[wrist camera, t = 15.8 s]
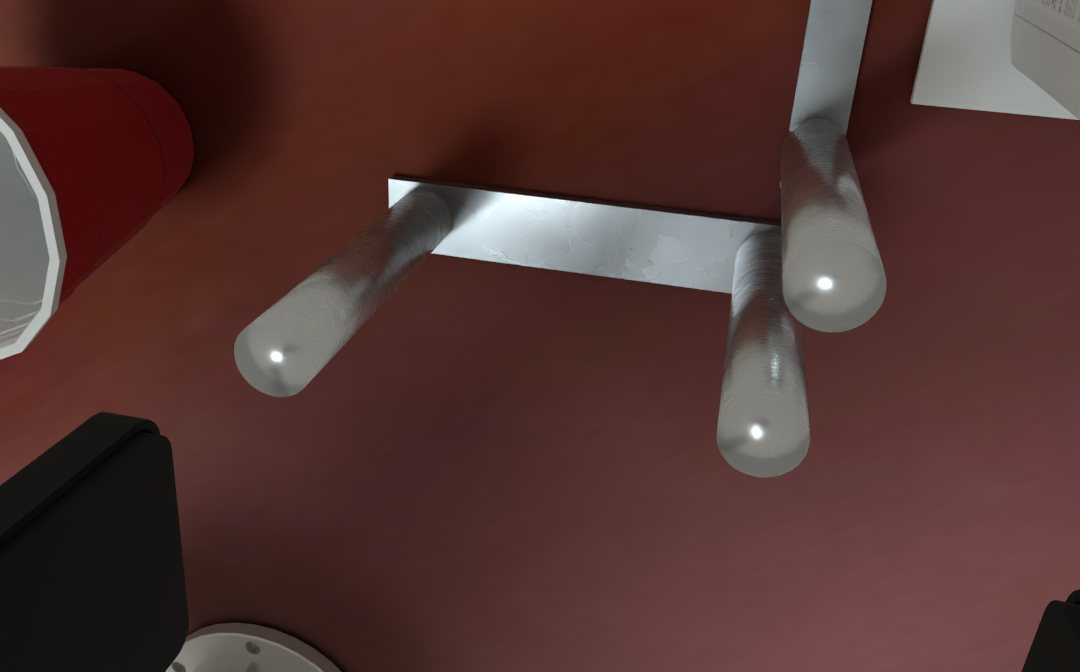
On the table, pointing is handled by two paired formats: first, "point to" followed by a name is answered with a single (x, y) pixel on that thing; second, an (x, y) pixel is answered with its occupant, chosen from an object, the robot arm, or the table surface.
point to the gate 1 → (575, 246)
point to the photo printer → (1049, 47)
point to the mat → (976, 62)
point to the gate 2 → (827, 181)
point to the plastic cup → (77, 180)
